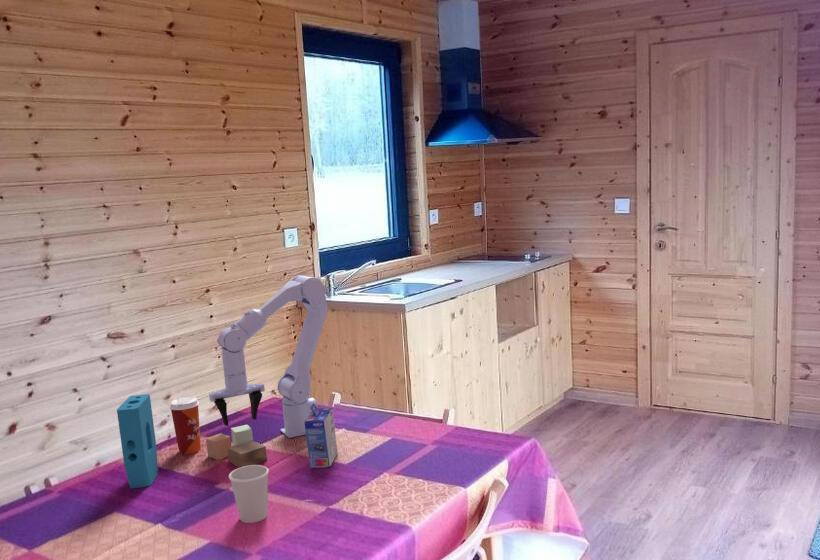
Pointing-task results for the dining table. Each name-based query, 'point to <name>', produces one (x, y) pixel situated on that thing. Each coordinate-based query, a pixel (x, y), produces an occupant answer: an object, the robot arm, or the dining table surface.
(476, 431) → the dining table surface
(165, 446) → the dining table surface
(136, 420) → the block
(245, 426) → the sage cube
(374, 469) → the dining table surface
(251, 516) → the dixie cup
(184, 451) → the paper cup
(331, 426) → the ink cartridge box
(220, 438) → the terracotta cube
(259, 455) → the walnut base
